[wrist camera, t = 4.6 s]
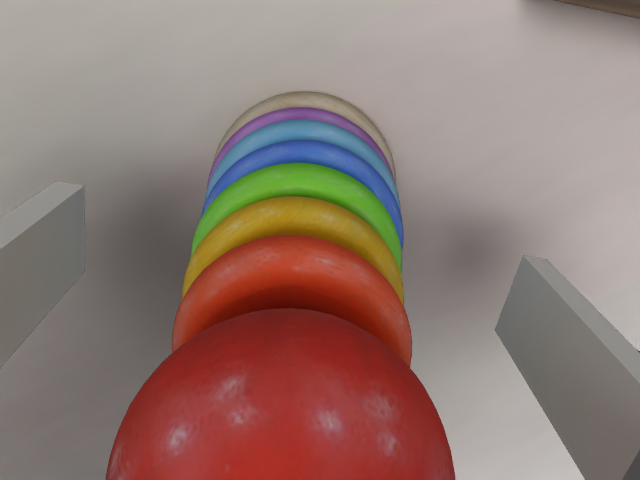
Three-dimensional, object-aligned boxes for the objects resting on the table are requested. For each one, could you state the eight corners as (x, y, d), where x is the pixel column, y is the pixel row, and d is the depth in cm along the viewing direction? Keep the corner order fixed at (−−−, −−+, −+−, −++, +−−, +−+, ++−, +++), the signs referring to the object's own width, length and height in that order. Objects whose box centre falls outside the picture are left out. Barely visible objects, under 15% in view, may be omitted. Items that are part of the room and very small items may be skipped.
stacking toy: (421, 128, 22) (843, 532, 5) (351, 280, 25) (456, 868, 8) (246, 59, 21) (-47, 277, 3) (194, 229, 23) (-103, 803, 6)
